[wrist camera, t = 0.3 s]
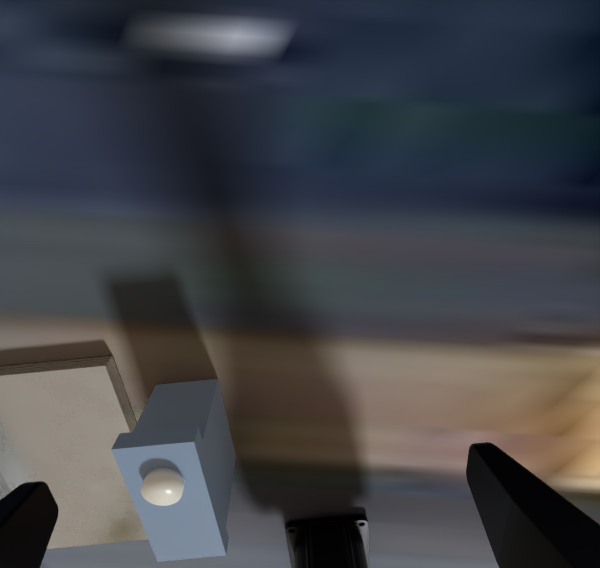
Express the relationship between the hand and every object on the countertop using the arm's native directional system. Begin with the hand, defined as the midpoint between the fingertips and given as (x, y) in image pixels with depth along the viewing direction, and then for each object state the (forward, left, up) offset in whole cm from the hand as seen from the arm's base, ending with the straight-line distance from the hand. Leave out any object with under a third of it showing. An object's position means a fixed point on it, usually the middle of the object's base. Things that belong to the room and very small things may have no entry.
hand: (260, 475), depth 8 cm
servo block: (-11, +7, -14) cm, 19 cm away
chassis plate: (-13, +21, -14) cm, 28 cm away
